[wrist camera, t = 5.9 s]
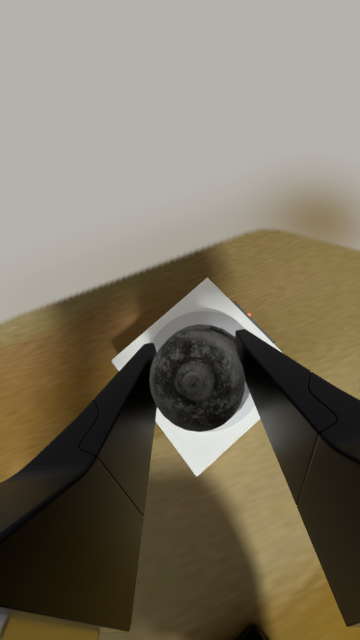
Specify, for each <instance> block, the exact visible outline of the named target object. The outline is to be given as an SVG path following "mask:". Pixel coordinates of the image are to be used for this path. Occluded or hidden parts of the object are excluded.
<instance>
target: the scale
mask: <svg viewBox="0 0 360 640" xmlns="http://www.w3.org/2000/svg"><path fill="white" fill-rule="evenodd" d="M250 316H251V314H250V313H248V314H246V313H245V312H244V311H243V310H242V309H241V308H240V307H239V306H238V305H237V304H236V303H233V302H232V301H231V300H230V299H229V298H228V297H227V296H226V295H225V294H224V293H223V292H222V291H221V290H220V289H219V288H218V287H217V286H216V285H215V284H214V283H213V282H212V281H211V280H210V279H209V278H208V277H207V278H206V279H205V280H204V281H203V282H201V283H200V284H199V285H198V286H197V287H196V288H195V289H193V290H192V291H191V292H190V293H189V294H188V295H186V296H185V297H184V298H183V299H182V300H181V301H179V302H178V303H177V304H176V305H175V306H174V307H173V308H171V309H170V310H169V311H168V312H167V313H166V314H164V315H163V316H162V317H161V318H160V319H159V320H157V321H156V322H155V323H154V324H153V325H152V326H151V327H149V328H148V329H147V330H146V331H145V332H144V333H142V334H141V335H140V336H139V337H138V338H137V339H136V340H134V341H133V342H132V343H131V344H130V345H129V346H127V347H126V348H125V349H124V350H123V351H122V352H120V353H119V354H118V355H117V356H116V357H115V358H114V359H112V360H111V361H112V363H113V364H114V365H115V367H116V368H117V369H118V371H120V370H121V369H122V368H123V367H124V365H125V364H126V363H127V362H128V361H129V360H130V359H131V358H132V357H133V356H134V354H135V353H136V352H137V351H138V350H139V349H140V348H141V347H142V346H143V345H144V344H146V343H154V345H155V348H156V351H157V352H158V351H159V349H160V348H161V346H162V345H163V344H164V343H165V342H166V340H167V339H168V338H170V337H171V336H172V335H173V334H174V333H175V332H177V331H179V330H181V329H183V328H185V327H188V326H193V325H198V324H202V325H213V326H216V327H219V328H222V329H224V330H226V331H227V332H229V333H230V334H232V335H233V336H235V332H236V330H240V329H246V330H248V331H249V332H251V333H252V334H254V335H255V336H257V337H259V338H260V339H262V340H263V341H265V342H266V343H268V344H269V345H271V346H273V347H274V348H276V349H277V350H279V349H278V348H277V347H276V346H275V345H274V343H275V342H274V341H273V340H272V339H271V338H270V337H269V336H268V335H267V334H266V333H265V332H264V331H263V330H262V329H261V328H260V327H259V326H258V325H257V324H256V323H255V322H254V321H253V320H252V319H251V318H250ZM279 351H280V350H279ZM280 352H281V351H280ZM259 419H260V416H259V414H258V411H257V409H256V406H255V404H254V401H253V399H252V397H251V394H250V393H249V397H248V398H247V400H246V402H245V403H244V405H243V406H242V408H241V409H240V410H239V411H238V412H237V413H236V414H235V415H234V416H233V417H231V418H230V419H229V420H228V421H227V422H226V423H225V424H224V425H222V426H220V427H218V428H215V429H213V430H210V431H203V432H195V431H188V430H184V429H182V428H180V427H178V426H176V425H174V424H173V423H171V422H170V421H169V420H168V419H166V418H165V417H164V416H163V414H162V413H161V412H160V410H159V409H158V408H157V410H156V419H155V421H156V422H157V424H158V425H159V426H160V428H161V429H162V430H163V432H164V433H165V434H166V436H167V437H168V439H169V440H170V441H171V443H172V444H173V445H174V447H175V448H176V449H177V451H178V452H179V453H180V455H181V456H182V458H183V459H184V460H185V462H186V463H187V464H188V466H189V467H190V468H191V470H192V471H193V472H194V474H195V475H196V477H197V476H198V475H199V474H201V473H202V472H203V471H204V470H205V469H206V468H207V467H208V466H209V465H210V464H211V463H212V462H214V461H215V460H216V459H217V458H218V457H219V456H220V455H221V454H222V453H223V452H224V451H226V450H227V449H228V448H229V447H230V446H231V445H232V444H233V443H234V442H235V441H236V440H237V439H239V438H240V437H241V436H242V435H243V434H244V433H245V432H246V431H247V430H248V429H249V428H251V427H252V426H253V425H254V424H255V423H256V422H257V421H258V420H259Z"/></svg>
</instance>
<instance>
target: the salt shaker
mask: <svg viewBox="0 0 360 640" xmlns="http://www.w3.org/2000/svg"><path fill="white" fill-rule="evenodd" d="M149 381H150V389H151V394H152V397H153V399H154V402H155V404H156V406H157V408H158V409H159V410H160V412H161V413H162V414H163V416H164V417H165V418H166V419H168V420H169V421H170V422H171V423H173V424H174V425H176V426H178V427H180V428H182V429H184V430H188V431H195V432H203V431H210V430H213V429H215V428H218V427H220V426H222V425H224V424H225V423H226V422H227V421H228V420H229V419H230V418H231V417H233V416H234V415H235V414H236V413H237V412H238V411H239V410H240V409H241V408H242V406H243V405H244V403H245V402H246V400H247V398H248V397H249V393H250V392H249V389H248V387H247V384H246V382H245V375H244V371H243V367H242V363H241V362H240V360H239V357H238V353H237V349H236V338H235V336H233V335H232V334H230V333H229V332H227V331H226V330H224V329H222V328H219V327H216V326H213V325H202V324H198V325H193V326H188V327H185V328H183V329H181V330H179V331H177V332H175V333H174V334H173V335H172V336H171V337H170V338H168V339H167V340H166V342H165V343H164V344H163V345H162V346H161V348H160V349H159V351H158V352H157V354H156V355H155V357H154V360H153V362H152V365H151V369H150V379H149Z"/></svg>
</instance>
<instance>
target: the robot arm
mask: <svg viewBox="0 0 360 640" xmlns="http://www.w3.org/2000/svg"><path fill="white" fill-rule="evenodd" d="M235 338H236V349H237V353H238V357H239V360H240V362H241V363H242V367H243V371H244V375H245V382H246V384H247V387H248V389H249V392H250V394H251V397H252V399H253V401H254V404H255V406H256V409H257V411H258V414H259V416H260V418H261V421H262V423H263V426H264V428H265V430H266V433H267V435H268V438H269V440H270V443H271V445H272V447H273V450H274V452H275V455H276V457H277V460H278V462H279V464H280V467H281V469H282V472H283V474H284V476H285V479H286V481H287V484H288V486H289V489H290V491H291V493H292V496H293V498H294V501H295V503H296V505H297V508H298V511H299V513H300V515H301V518H302V520H303V523H304V525H305V528H306V530H307V532H308V535H309V537H310V540H311V542H312V544H313V547H314V549H315V552H316V554H317V557H318V559H319V561H320V564H321V566H322V569H323V571H324V573H325V576H326V578H327V581H328V583H329V586H330V588H331V590H332V593H333V595H334V598H335V600H336V603H337V605H338V607H339V610H340V612H341V615H342V617H343V619H344V622H345V624H346V626H347V627H360V400H358V399H357V398H355V397H353V396H351V395H349V394H348V393H346V392H344V391H342V390H341V389H339V388H337V387H335V386H334V385H332V384H330V383H329V382H327V381H326V380H324V379H322V378H321V377H319V376H318V375H316V374H315V373H313V372H311V371H310V370H308V369H307V368H305V367H304V366H302V365H300V364H299V363H297V362H296V361H294V360H293V359H291V358H290V357H288V356H286V355H285V354H283V353H282V352H280V351H279V350H277V349H276V348H274V347H273V346H271V345H269V344H268V343H266V342H265V341H263V340H262V339H260V338H259V337H257V336H255V335H254V334H252V333H251V332H249V331H248V330H246V329H240V330H236V332H235ZM156 354H157V351H156V348H155V345H154V343H146V344H144V345H143V346H142V347H141V348H140V349H139V350H138V351H137V352H136V353H135V354H134V356H133V357H132V358H131V359H130V360H129V361H128V362H127V363H126V364H125V365H124V367H123V368H122V369H121V370H120V371H119V372H118V373H117V374H116V375H115V376H114V378H113V379H112V380H111V381H110V382H109V383H108V384H107V385H106V386H105V387H104V388H103V390H102V391H101V392H100V393H99V394H98V395H97V396H96V397H95V400H92V402H91V403H90V404H89V405H88V406H87V407H86V408H85V409H84V410H83V411H82V412H81V413H80V414H79V415H78V417H77V418H76V419H75V420H74V421H73V422H72V423H71V424H70V425H68V426H67V427H66V428H65V429H64V430H63V431H62V432H61V433H60V434H59V435H58V436H57V437H56V438H55V439H54V440H53V441H52V442H51V443H50V444H49V445H48V446H47V447H45V448H44V449H43V450H42V451H41V452H40V453H39V454H38V455H37V456H36V457H35V458H34V459H33V460H32V461H31V462H30V463H28V464H27V465H26V466H25V467H24V468H23V469H21V470H20V471H19V472H18V473H16V474H15V475H13V476H12V477H10V478H9V479H7V480H5V481H3V482H1V483H0V640H98V638H99V633H115V632H129V631H130V625H131V617H132V609H133V601H134V593H135V584H136V576H137V568H138V560H139V551H140V543H141V535H142V526H143V516H144V509H145V501H146V493H147V485H148V476H149V468H150V460H151V452H152V443H153V435H154V427H155V419H156V410H157V406H156V404H155V402H154V399H153V397H152V394H151V389H150V381H149V379H150V369H151V365H152V362H153V360H154V357H155V355H156ZM310 372H311V373H310ZM253 635H256V637H253ZM235 640H267V639H266V638H265V636H264V635H263V633H262V632H261V630H260V629H259V628H258V627H257V626H256V625H254V624H252V625H250V626H249V627H248V628H247V629H246V630H245V631H244V632H242V633H241V634H240V635H239V636H238V637H237V638H236V639H235Z"/></svg>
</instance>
